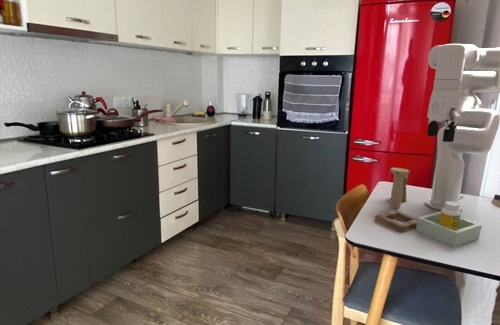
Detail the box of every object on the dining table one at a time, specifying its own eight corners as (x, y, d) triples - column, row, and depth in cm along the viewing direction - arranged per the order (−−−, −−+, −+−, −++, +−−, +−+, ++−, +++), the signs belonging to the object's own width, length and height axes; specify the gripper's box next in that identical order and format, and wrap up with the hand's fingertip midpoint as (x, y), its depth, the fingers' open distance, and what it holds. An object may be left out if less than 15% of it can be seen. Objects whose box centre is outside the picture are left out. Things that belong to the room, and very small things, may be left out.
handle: (401, 211, 132) (406, 172, 129) (384, 206, 136) (388, 169, 133) (405, 207, 136) (410, 170, 132) (389, 203, 140) (393, 167, 136)
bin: (440, 223, 122) (442, 210, 121) (479, 238, 111) (481, 224, 110) (415, 230, 116) (417, 217, 115) (454, 247, 105) (456, 233, 104)
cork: (402, 197, 147) (405, 172, 145) (409, 202, 141) (412, 176, 139) (388, 197, 147) (391, 172, 144) (394, 202, 141) (397, 176, 138)
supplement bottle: (444, 226, 117) (448, 199, 114) (460, 232, 112) (465, 204, 110) (434, 230, 114) (439, 202, 112) (451, 236, 109) (456, 207, 107)
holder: (395, 215, 128) (396, 209, 128) (422, 226, 119) (423, 220, 119) (374, 220, 123) (374, 215, 123) (401, 232, 114) (401, 227, 113)
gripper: (422, 84, 119) (415, 133, 124) (450, 86, 103) (442, 144, 107) (444, 84, 120) (437, 133, 124) (476, 86, 103) (466, 144, 107)
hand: (439, 138), depth 116 cm, fingers open, 9 cm apart
